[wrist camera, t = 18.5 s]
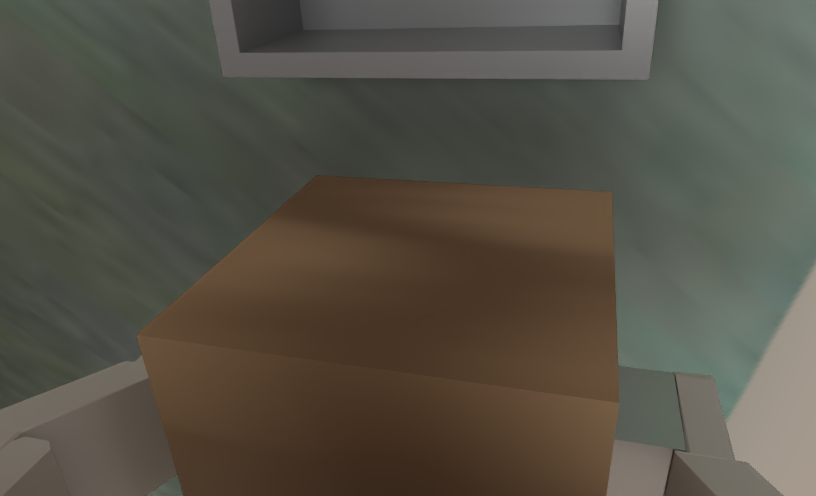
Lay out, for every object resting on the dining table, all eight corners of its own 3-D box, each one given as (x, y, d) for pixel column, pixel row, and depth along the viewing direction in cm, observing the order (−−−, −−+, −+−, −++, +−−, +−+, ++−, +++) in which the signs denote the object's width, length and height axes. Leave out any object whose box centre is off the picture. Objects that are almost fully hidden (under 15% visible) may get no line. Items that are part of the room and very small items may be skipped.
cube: (343, 395, 13) (220, 619, 9) (316, 175, 11) (135, 335, 7) (584, 432, 12) (576, 715, 8) (612, 191, 10) (618, 403, 5)
